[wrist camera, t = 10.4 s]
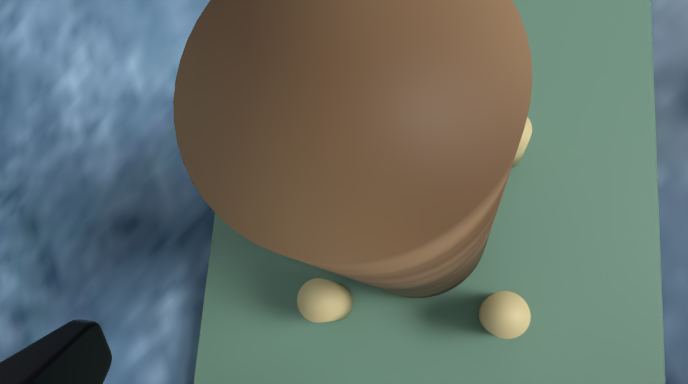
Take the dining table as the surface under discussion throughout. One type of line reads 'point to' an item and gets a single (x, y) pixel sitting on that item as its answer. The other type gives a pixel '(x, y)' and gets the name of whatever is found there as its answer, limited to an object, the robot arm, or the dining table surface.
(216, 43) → the walnut cylinder
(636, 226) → the standoff plate
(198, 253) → the dining table surface
